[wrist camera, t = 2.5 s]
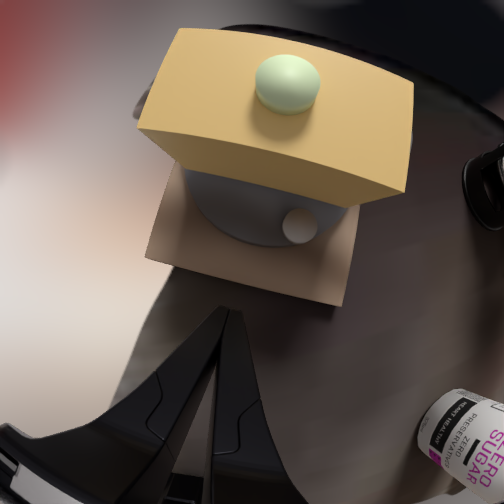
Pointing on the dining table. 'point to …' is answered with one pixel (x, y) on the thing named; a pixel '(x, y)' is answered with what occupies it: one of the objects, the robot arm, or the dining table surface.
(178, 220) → the level base
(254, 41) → the yellow boxy piece
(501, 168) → the french press
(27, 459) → the robot arm
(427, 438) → the supplement can
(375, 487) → the dining table surface
